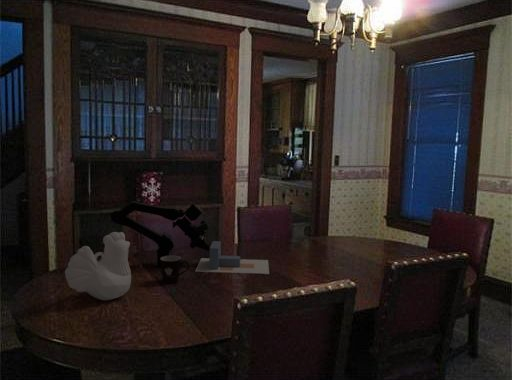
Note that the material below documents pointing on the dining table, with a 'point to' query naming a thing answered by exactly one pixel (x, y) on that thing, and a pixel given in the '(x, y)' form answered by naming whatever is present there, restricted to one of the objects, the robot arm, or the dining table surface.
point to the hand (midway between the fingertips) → (210, 250)
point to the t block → (221, 257)
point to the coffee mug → (171, 268)
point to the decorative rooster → (101, 269)
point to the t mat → (245, 267)
